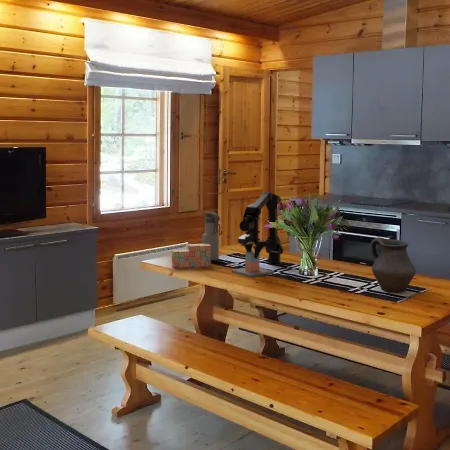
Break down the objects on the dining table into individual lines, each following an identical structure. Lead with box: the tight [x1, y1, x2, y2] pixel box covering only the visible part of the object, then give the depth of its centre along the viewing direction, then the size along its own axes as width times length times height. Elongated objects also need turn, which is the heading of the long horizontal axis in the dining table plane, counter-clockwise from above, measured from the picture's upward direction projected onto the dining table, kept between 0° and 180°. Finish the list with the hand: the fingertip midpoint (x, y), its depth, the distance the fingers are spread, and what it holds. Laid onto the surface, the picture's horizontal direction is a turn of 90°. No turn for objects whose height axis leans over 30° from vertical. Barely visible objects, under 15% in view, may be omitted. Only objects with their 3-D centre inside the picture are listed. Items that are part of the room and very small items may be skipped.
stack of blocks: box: [171, 243, 212, 269], centre depth 360 cm, size 21×6×12 cm, turn 103°
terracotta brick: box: [244, 260, 260, 272], centre depth 344 cm, size 6×4×5 cm
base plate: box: [231, 267, 274, 278], centre depth 345 cm, size 16×16×1 cm
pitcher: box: [370, 236, 417, 294], centre depth 307 cm, size 21×22×25 cm
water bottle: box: [201, 211, 221, 262], centre depth 379 cm, size 10×10×28 cm
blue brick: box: [245, 250, 260, 263], centre depth 344 cm, size 6×4×5 cm
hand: (252, 257), depth 344 cm, fingers open, 5 cm apart
